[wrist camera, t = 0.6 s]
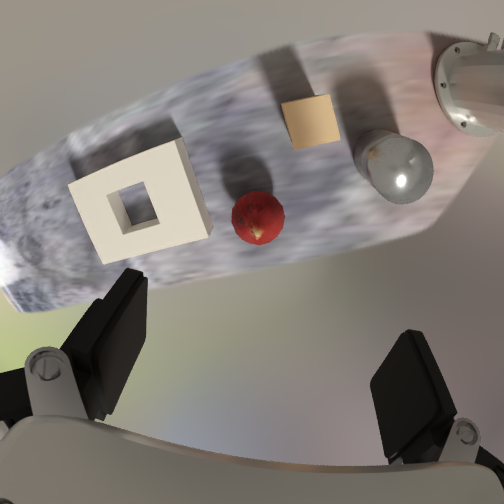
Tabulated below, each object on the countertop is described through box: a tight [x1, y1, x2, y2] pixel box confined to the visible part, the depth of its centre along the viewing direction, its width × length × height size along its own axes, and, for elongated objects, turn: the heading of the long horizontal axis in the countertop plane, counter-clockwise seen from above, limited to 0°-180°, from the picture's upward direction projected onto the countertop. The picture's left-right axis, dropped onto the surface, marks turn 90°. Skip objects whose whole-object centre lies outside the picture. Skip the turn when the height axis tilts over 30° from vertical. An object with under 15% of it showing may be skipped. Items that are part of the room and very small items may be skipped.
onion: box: [232, 191, 285, 245], centre depth 35 cm, size 6×6×8 cm
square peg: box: [280, 94, 341, 150], centre depth 29 cm, size 4×4×10 cm
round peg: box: [354, 129, 433, 204], centre depth 31 cm, size 7×7×8 cm
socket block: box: [68, 137, 213, 264], centre depth 38 cm, size 16×12×3 cm
